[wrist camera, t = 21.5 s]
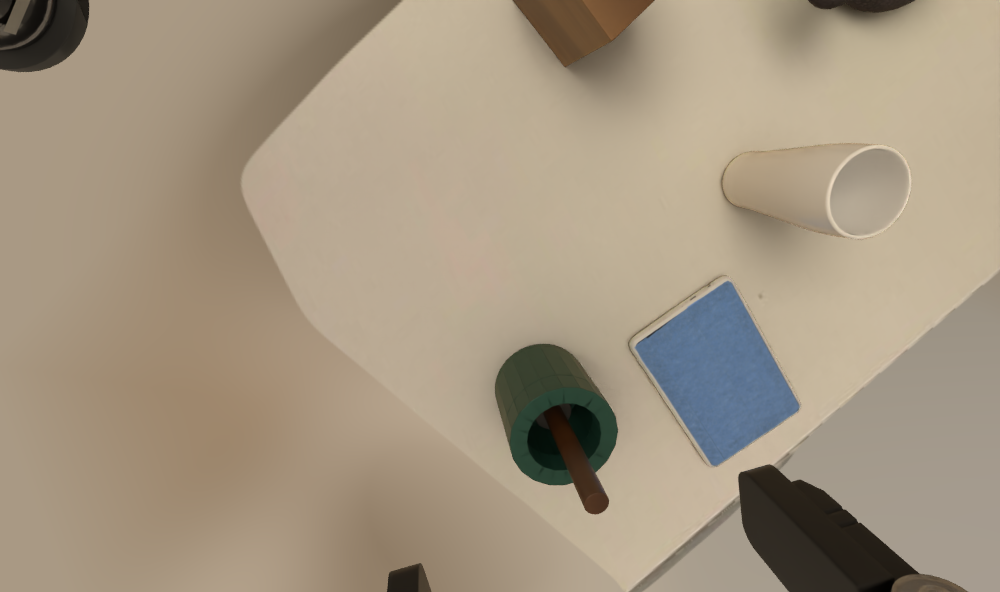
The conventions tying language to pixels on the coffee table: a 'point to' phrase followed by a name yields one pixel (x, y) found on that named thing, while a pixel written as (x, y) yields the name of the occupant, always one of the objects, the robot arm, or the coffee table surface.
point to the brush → (574, 458)
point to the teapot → (862, 4)
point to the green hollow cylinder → (539, 386)
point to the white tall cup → (823, 187)
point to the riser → (580, 23)
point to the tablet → (716, 371)
